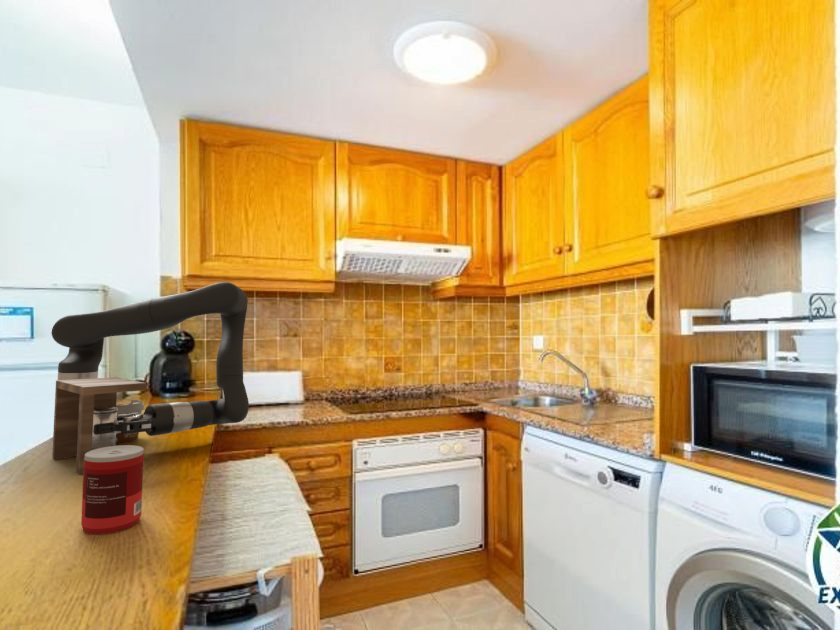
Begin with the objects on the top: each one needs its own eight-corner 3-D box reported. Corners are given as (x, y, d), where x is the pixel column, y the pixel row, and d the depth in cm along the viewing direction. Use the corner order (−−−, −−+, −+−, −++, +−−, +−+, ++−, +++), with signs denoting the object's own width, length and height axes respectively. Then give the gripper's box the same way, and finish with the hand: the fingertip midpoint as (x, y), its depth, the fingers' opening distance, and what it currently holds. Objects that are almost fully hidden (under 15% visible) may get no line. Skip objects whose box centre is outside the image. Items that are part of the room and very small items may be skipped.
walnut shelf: (52, 458, 106) (55, 380, 106) (112, 449, 115) (115, 377, 116) (79, 474, 95) (83, 387, 95) (143, 462, 104) (146, 382, 105)
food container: (124, 446, 118) (125, 406, 118) (100, 446, 118) (101, 406, 118) (153, 436, 130) (154, 399, 131) (131, 435, 130) (132, 399, 131)
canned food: (130, 510, 76) (132, 442, 77) (149, 523, 71) (152, 450, 72) (73, 524, 70) (76, 451, 71) (90, 540, 65) (94, 460, 66)
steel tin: (84, 453, 105) (86, 408, 106) (110, 449, 109) (112, 406, 110) (92, 457, 102) (94, 411, 102) (119, 452, 106) (121, 408, 106)
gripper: (157, 399, 122) (79, 407, 108) (183, 406, 113) (102, 415, 99) (155, 429, 121) (77, 439, 108) (182, 437, 113) (100, 450, 99)
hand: (89, 427), depth 104 cm, fingers closed on steel tin, 5 cm apart
